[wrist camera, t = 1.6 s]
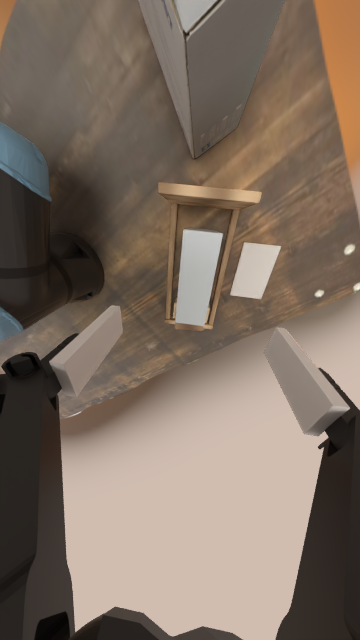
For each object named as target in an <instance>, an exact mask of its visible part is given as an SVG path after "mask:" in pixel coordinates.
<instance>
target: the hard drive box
mask: <svg viewBox="0 0 360 640" xmlns="http://www.w3.org/2000/svg"><path fill="white" fill-rule="evenodd" d="M284 1H285V0H139V4H140V7H141V11H142V14H143V17H144V20H145V23H146V26H147V29H148V32H149V35H150V37H151V40H152V43H153V46H154V49H155V52H156V55H157V57H158V60H159V63H160V66H161V69H162V72H163V74H164V77H165V80H166V83H167V86H168V89H169V92H170V95H171V98H172V101H173V103H174V106H175V109H176V112H177V115H178V118H179V121H180V124H181V127H182V130H183V132H184V135H185V138H186V141H187V144H188V146H189V149H190V152H191V155H192V158H193V159H194V158H195V159H196V158H197V157H199V156H200V155H201V154H203V153H204V152H206V151H207V150H208V149H210V148H211V147H212V146H214V145H215V144H216V143H217V142H219V141H220V140H222V139H223V138H224V137H225V136H227V135H228V134H229V133H231V132H232V131H233V130H235V129H236V128H237V127H238V124H239V121H240V119H241V116H242V113H243V111H244V108H245V105H246V103H247V100H248V97H249V95H250V92H251V89H252V87H253V84H254V81H255V79H256V76H257V73H258V71H259V68H260V65H261V63H262V60H263V57H264V55H265V52H266V49H267V47H268V44H269V41H270V39H271V36H272V33H273V31H274V28H275V25H276V23H277V20H278V17H279V15H280V12H281V9H282V7H283V4H284Z"/></svg>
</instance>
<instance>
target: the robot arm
mask: <svg viewBox="0 0 360 640" xmlns="http://www.w3.org/2000/svg"><path fill="white" fill-rule="evenodd" d="M50 202H52V197H51V196H50V189H49V172H48V165H47V162H46V160H45V158H44V156H43V154H42V153H41V151H40V150H39V149H38V148H37V147H36V146H35V145H34V144H33V143H32V142H31V141H30V140H28V139H27V138H25V137H24V136H22V135H21V134H19V133H18V132H16V131H15V130H13V129H12V128H10V127H8V126H7V125H5V124H4V123H2V122H1V121H0V342H2V341H4V340H6V339H8V338H9V337H11V336H13V335H15V334H19V333H21V332H23V330H25V329H26V328H28V327H29V326H31V325H33V324H34V323H36V322H38V321H39V320H41V319H42V318H44V317H46V316H47V315H49V314H50V313H52V312H54V311H55V310H57V309H59V308H60V307H62V306H63V305H65V304H68V303H74V302H81V301H85V300H88V299H90V298H92V297H93V296H95V295H96V294H98V293H99V291H100V290H101V288H102V286H103V283H104V272H103V268H102V265H101V262H100V260H99V258H98V257H97V255H96V254H95V252H94V251H93V250H92V249H91V247H90V246H89V245H87V244H86V243H85V242H84V241H83V240H81V239H79V238H78V237H76V236H74V235H71V234H68V233H50ZM122 333H123V327H122V319H121V310H120V306H114V305H111V306H110V307H109V308H108V309H107V310H106V311H104V312H103V313H102V314H101V315H100V316H99V317H98V318H97V319H96V320H95V321H93V322H92V323H91V324H90V325H89V326H88V327H87V328H86V329H85V330H84V331H82V332H81V333H80V334H77V333H76V334H74V335H72V336H70V337H68V338H67V339H65V340H64V341H63V342H62V344H59V345H58V346H57V348H55V349H54V350H52V351H51V352H50V353H49V354H48V355H47V356H45V357H44V358H43V359H42V360H41V361H40V360H39V358H38V356H37V354H36V353H34V352H26V353H21V354H18V355H15V356H13V357H11V358H9V359H8V360H6V361H5V362H4V363H3V365H2V366H1V367H2V368H3V370H4V371H5V373H6V374H0V640H242V639H241V638H239V637H238V636H236V635H234V634H233V633H230V632H225V631H221V630H216V629H212V628H208V627H200V628H197V629H194V630H191V631H189V632H186V633H183V634H180V635H177V636H174V637H172V636H169V635H168V634H167V633H166V632H164V631H163V630H162V629H161V628H160V627H159V626H158V625H156V624H155V623H154V622H153V621H152V620H150V619H149V618H148V617H147V616H146V615H145V614H144V613H141V612H136V611H132V610H127V609H123V608H119V607H114V608H112V609H111V610H109V611H108V612H106V613H105V614H102V615H100V616H99V617H97V618H95V619H93V620H92V621H90V622H89V623H87V624H86V625H84V626H83V627H82V628H81V629H79V630H78V631H77V632H76V633H75V624H74V607H73V591H72V581H71V576H70V572H69V568H68V565H67V560H66V542H65V523H64V504H63V503H64V502H63V482H62V460H61V440H60V419H59V399H58V395H57V394H58V392H59V391H60V390H61V389H62V390H63V393H64V395H68V396H75V397H77V396H78V395H79V393H80V392H81V390H82V389H83V388H84V386H85V385H86V383H87V382H88V381H89V379H90V378H91V376H92V375H93V374H94V372H95V371H96V370H97V368H98V367H99V365H100V364H101V363H102V361H103V360H104V358H105V357H106V356H107V354H108V353H109V351H110V350H111V349H112V347H113V346H114V344H115V343H116V342H117V340H118V339H119V337H120V336H121V335H122ZM264 354H265V356H266V358H267V360H268V362H269V364H270V366H271V368H272V370H273V372H274V374H275V376H276V378H277V380H278V382H279V384H280V386H281V388H282V390H283V392H284V394H285V396H286V398H287V400H288V402H289V404H290V406H291V408H292V411H293V413H294V414H295V417H296V419H297V420H298V422H299V425H300V427H301V429H302V431H303V433H304V434H308V435H313V436H319V435H320V434H322V432H324V431H325V432H326V434H327V435H328V437H329V438H328V439H326V440H325V441H324V442H323V443H321V444H320V445H319V446H318V448H319V449H321V448H323V447H324V451H323V455H322V460H321V465H320V469H319V474H318V479H317V484H316V489H315V494H314V499H313V503H312V508H311V513H310V517H309V523H308V527H307V532H306V537H305V541H304V546H303V551H302V556H301V561H300V565H299V570H298V575H297V580H296V585H295V589H294V595H293V599H292V603H291V607H290V609H289V612H288V613H287V615H286V616H285V617H284V619H283V620H282V623H281V624H280V627H279V629H278V633H277V637H276V640H360V410H359V409H358V408H357V407H356V406H355V405H354V403H353V402H352V401H351V400H350V399H349V398H348V396H347V395H346V394H345V393H344V392H343V391H342V390H341V389H340V387H339V386H338V385H337V384H336V383H335V381H334V380H333V379H332V378H331V377H330V376H329V374H327V373H326V372H325V371H323V370H322V369H321V368H317V367H316V365H315V364H314V363H313V362H312V360H311V359H310V358H309V357H308V355H307V354H306V353H305V352H304V351H303V349H302V348H301V347H300V346H299V344H298V343H297V342H296V341H295V339H294V338H293V337H292V336H291V335H290V333H289V332H288V331H287V330H286V328H278V327H276V328H275V331H274V332H273V335H272V337H271V339H270V341H269V343H268V345H267V347H266V349H265V351H264Z"/></svg>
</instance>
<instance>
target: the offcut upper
mask: <svg viewBox="0 0 360 640" xmlns="http://www.w3.org/2000/svg"><path fill="white" fill-rule="evenodd" d="M175 319H176V312H175ZM175 329H183V330H198V331H203V326H199V325H191V324H184V323H176V322H175Z"/></svg>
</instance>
